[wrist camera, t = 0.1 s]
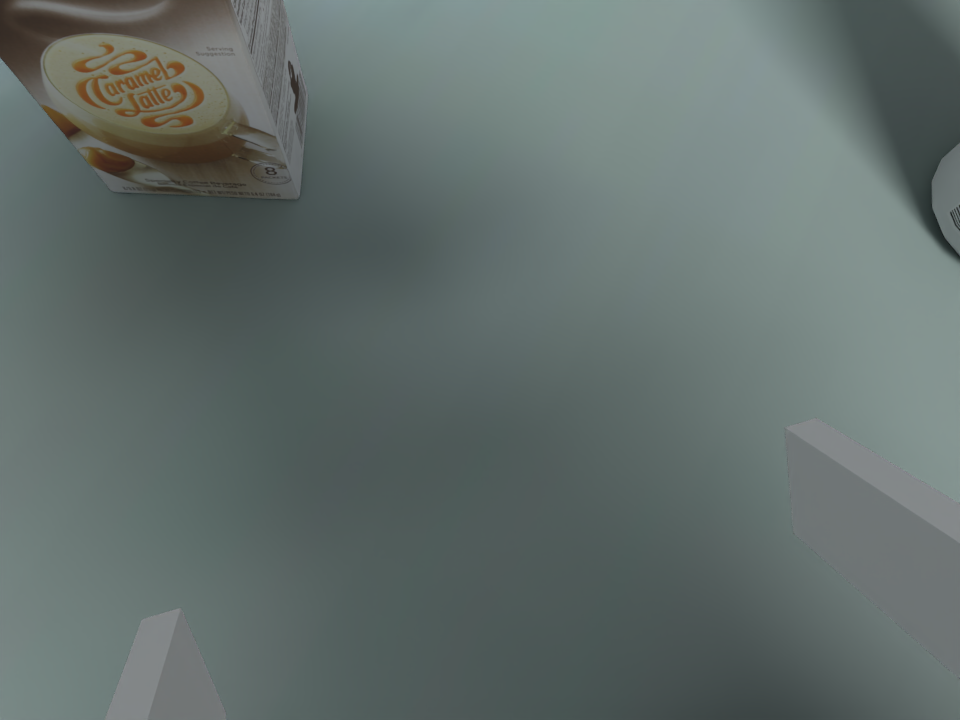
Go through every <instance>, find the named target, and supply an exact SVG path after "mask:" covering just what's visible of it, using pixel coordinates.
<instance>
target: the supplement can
mask: <svg viewBox="0 0 960 720" xmlns="http://www.w3.org/2000/svg"><path fill="white" fill-rule="evenodd" d="M932 208H933V211H934V213H935V216H936V218H937V221H938V223H939V225H940V228H941V230H942V233H943V235H944V238H945V239H946V240H947V241H948V242H949V244H950V245H951V246H952V247H953V248H954V250H955V251H956V252H957V253H958V254H959V256H960V143H959V144H958V145H957V146H956V147H954V148H953V149H952V150H951V151H950V152H949V153H948V154H947V155H945V156H944V157H943V158H942V159H941V161H940V163H939V166H938V168H937V170H936V173H935V175H934V177H933V180H932Z"/></svg>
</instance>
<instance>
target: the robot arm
mask: <svg viewBox="0 0 960 720" xmlns="http://www.w3.org/2000/svg"><path fill="white" fill-rule="evenodd" d="M785 438H786V450H787V462H788V474H789V486H790V498H791V510H792V522H793V534H795V535H796V536H797V537H798V538H799V539H800V540H801V541H803V542H804V543H805V544H806V545H807V546H808V547H809V548H811V549H812V550H813V551H814V552H815V553H816V554H817V555H819V556H820V557H821V558H822V559H823V560H824V561H825V562H827V563H828V564H829V565H830V566H831V567H832V568H833V569H835V570H836V571H837V572H838V573H839V574H840V575H841V576H843V577H844V578H845V579H846V580H847V581H848V582H849V583H851V584H852V585H853V586H854V587H855V588H856V589H857V590H859V591H860V592H861V593H862V594H863V595H864V596H865V597H867V598H868V599H869V600H870V601H871V602H872V603H873V604H875V605H876V606H877V607H878V608H879V609H880V610H881V611H883V612H884V613H885V614H886V615H887V616H888V617H889V618H891V619H892V620H893V621H894V622H895V623H896V624H897V625H898V626H900V627H901V628H902V629H903V630H904V631H905V632H906V633H908V634H909V635H910V636H911V637H912V638H913V639H914V640H916V641H917V642H918V643H919V644H920V645H921V646H922V647H924V648H925V649H926V650H927V651H928V652H929V653H930V654H932V655H933V656H934V657H935V658H936V659H937V660H938V661H940V662H941V663H942V664H943V665H944V666H945V667H946V668H948V669H949V670H950V671H951V672H952V673H953V674H954V675H956V676H957V677H958V678H959V679H960V504H959V503H958V502H956V501H954V500H953V499H951V498H949V497H948V496H946V495H944V494H943V493H941V492H939V491H938V490H936V489H934V488H933V487H931V486H929V485H928V484H926V483H924V482H923V481H921V480H919V479H918V478H916V477H914V476H913V475H911V474H909V473H908V472H906V471H904V470H903V469H901V468H899V467H898V466H896V465H894V464H893V463H891V462H889V461H888V460H886V459H884V458H883V457H881V456H879V455H878V454H876V453H874V452H873V451H871V450H869V449H867V448H866V447H864V446H862V445H861V444H859V443H857V442H856V441H854V440H852V439H851V438H849V437H847V436H846V435H844V434H842V433H841V432H839V431H837V430H836V429H834V428H832V427H831V426H829V425H827V424H826V423H824V422H822V421H821V420H819V419H817V418H814V419H811V420H808V421H804V422H801V423H798V424H794V425H791V426H788V427H785ZM225 718H226V712H225V709H224V707H223V704H222V702H221V700H220V697H219V695H218V693H217V690H216V688H215V686H214V683H213V681H212V679H211V676H210V674H209V672H208V669H207V667H206V665H205V662H204V660H203V658H202V655H201V653H200V651H199V648H198V646H197V644H196V641H195V639H194V637H193V634H192V632H191V630H190V627H189V625H188V623H187V620H186V618H185V616H184V613H183V611H182V609H181V608H178V609H175V610H172V611H168V612H165V613H162V614H158V615H155V616H152V617H148V618H145V619H142V621H141V623H140V626H139V629H138V631H137V634H136V637H135V640H134V642H133V645H132V648H131V650H130V653H129V656H128V658H127V661H126V664H125V666H124V669H123V672H122V674H121V677H120V680H119V682H118V685H117V688H116V691H115V693H114V696H113V699H112V701H111V704H110V707H109V709H108V712H107V715H106V717H105V720H225Z"/></svg>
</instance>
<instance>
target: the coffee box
mask: <svg viewBox="0 0 960 720" xmlns="http://www.w3.org/2000/svg"><path fill="white" fill-rule="evenodd" d="M0 58H1V59H2V60H3V61H4V62H5V64H6V65H7V66H8V67H9V68H10V70H11V71H12V72H13V73H14V74H15V75H16V77H17V78H18V79H19V80H20V81H21V83H22V84H23V85H24V86H25V88H26V89H27V90H28V91H29V93H30V94H31V95H32V96H33V97H34V99H35V100H36V101H37V102H38V104H39V105H40V106H41V107H42V108H43V109H44V111H45V112H46V113H47V114H48V115H49V117H50V118H51V119H52V120H53V122H54V123H55V124H56V125H57V126H58V127H59V128H60V130H61V131H62V132H63V133H64V134H65V136H66V137H67V138H68V140H69V141H70V142H71V143H72V144H73V145H74V147H75V148H76V149H77V150H78V152H79V153H80V154H81V155H82V156H83V158H84V159H85V160H86V161H87V163H88V164H89V165H90V166H91V167H92V168H93V170H94V171H95V172H96V173H97V174H98V176H99V177H100V178H101V179H102V180H103V182H104V183H105V184H106V185H107V187H108V188H109V189H110V190H111V191H113V192H123V193H149V194H176V195H196V196H220V197H241V198H264V199H298V198H299V196H300V191H301V180H302V167H303V154H304V143H305V131H306V118H307V104H308V91H307V87H306V84H305V81H304V77H303V74H302V70H301V66H300V63H299V59H298V55H297V51H296V48H295V44H294V40H293V36H292V32H291V29H290V25H289V21H288V18H287V13H286V10H285V6H284V3H283V0H0Z"/></svg>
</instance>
